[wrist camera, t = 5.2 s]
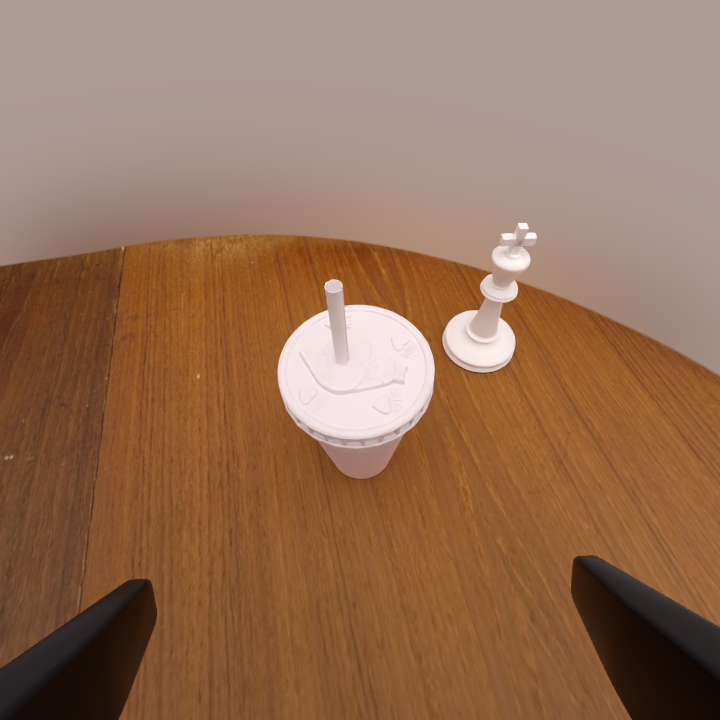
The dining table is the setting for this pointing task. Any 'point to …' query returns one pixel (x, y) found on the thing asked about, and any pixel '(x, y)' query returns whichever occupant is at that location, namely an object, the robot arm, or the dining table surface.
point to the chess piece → (490, 310)
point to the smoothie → (356, 381)
